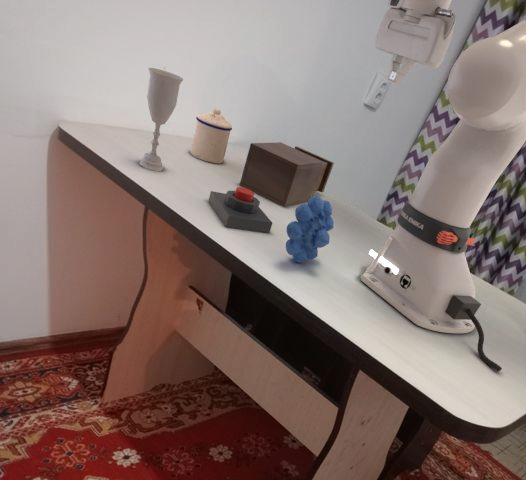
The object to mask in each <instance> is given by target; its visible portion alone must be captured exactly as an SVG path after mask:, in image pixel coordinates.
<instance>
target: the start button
mask: <svg viewBox="0 0 526 480" xmlns="http://www.w3.org/2000/svg"><path fill="white" fill-rule="evenodd" d="M234 191H235V194H234V197H236V198H237V199H239V200H242V201H246V202H252V200H253V197H255V193H254V192H253V191H251V190H249V189H247V188H244V187H242V186H237V187H236V188H235V190H234Z"/></svg>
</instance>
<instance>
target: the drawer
mask: <svg viewBox="0 0 526 480" xmlns="http://www.w3.org/2000/svg"><path fill="white" fill-rule="evenodd" d="M293 148H294V149H297V150H299V151H301V152H303V153H305V154H308V155H310V156H312V157H314V158H317V159H319V160H321V161H323V162H324V164H323V166H322V169H321V172H320V175H319V177H318V180H317V183H316V186H315V188H314V191H313V193H315V192H319V193H324V192H325V188H326V186H327V184H328V181H329V178H330V175H331V172H332V169H333V167H334V165H335V163H334V161H331V160H328V159H327V158H324V157H322V156H320V155H318V154H316V153H313V152H312V151H309V150H306V149H304V148H301V147H299V146H294V147H293Z"/></svg>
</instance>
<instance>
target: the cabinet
mask: <svg viewBox="0 0 526 480" xmlns="http://www.w3.org/2000/svg"><path fill="white" fill-rule="evenodd" d="M294 148H295V147H292V146H290V145H287V144H286V143H283V142H281V141H280V142H279V141H278V142H250V144H249V148H248V152H247V155H246V160H245V163H244V167H243V170H242V174H241V179H240V182H239V187H243V188H247V189H249V190H251V191H253V192H254V194H257V195H258V196H261V197H263V198H265V199H267V200H269V201H271V202H273V203H274V204H277V205H278V206H281V207H283V208H286V207H287V208H288V207H290V206H294V205H298V204H301V203H305V202H308V200H309V199H310V198H312V197H313V194H314V192H313V191H314V188H315V186H316V183H317V180H318V177H319V175H320V172H321V169H322V166H323V164H324V162H323V161H321V160H319V159H317V158H314V157H312V156H310V155H308V154H305V153H303V152H301V151H299V150H297V149H294Z"/></svg>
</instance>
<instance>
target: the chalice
mask: <svg viewBox="0 0 526 480" xmlns="http://www.w3.org/2000/svg"><path fill="white" fill-rule="evenodd" d="M148 73H149V79H148V88H147V94H146V99H147V105H148V110H149V115H150V118H151V121H152V122H153V123H155V125H154V126H155V128H154V130H153V132H152V135H153V139H152V140H151V141H150V143H151V150H150V151H149V152H147V153H145V154H144V155H143V157H142V158H141V160H140V162H139V166H141V167H143V168H145V169H147V170H151V171H155V172H156V171H157V172H161V171H164V167H163V162H162V158H161V157H160V156H159V155H158V153H157V148H158V146H159V145H160V143H159V138H160V136H161V133H160V132H161V131H160V128H161V126H162V125H165V124H166V123H167V122H168V121H169V119H170V118H171V116H172V114H173V112H174V110H175V108H176V107H177V103H178V97H179V91H180V85H181V84H182V82H183V81H184V78H183V77H181V76H180V75H177V74H175V73H172V72H169V71H166V70H162V69H160V68H156V67H148Z"/></svg>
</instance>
